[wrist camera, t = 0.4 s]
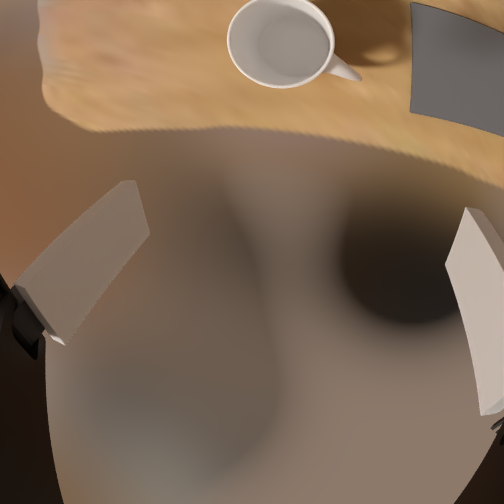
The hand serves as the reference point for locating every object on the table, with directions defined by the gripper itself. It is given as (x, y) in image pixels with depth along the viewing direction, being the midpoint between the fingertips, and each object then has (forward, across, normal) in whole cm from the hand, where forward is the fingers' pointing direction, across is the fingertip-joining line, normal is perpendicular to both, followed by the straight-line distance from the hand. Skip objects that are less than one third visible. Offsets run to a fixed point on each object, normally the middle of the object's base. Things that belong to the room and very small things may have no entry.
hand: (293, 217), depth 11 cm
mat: (+26, +18, +8) cm, 32 cm away
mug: (+26, -1, +6) cm, 27 cm away
